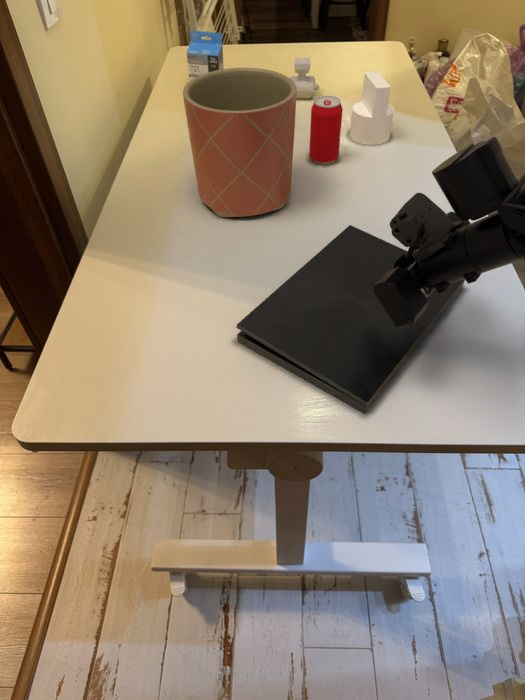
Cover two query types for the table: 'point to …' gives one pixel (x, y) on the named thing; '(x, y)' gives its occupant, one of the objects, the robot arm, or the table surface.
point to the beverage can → (325, 129)
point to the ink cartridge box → (204, 53)
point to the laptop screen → (342, 316)
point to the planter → (242, 139)
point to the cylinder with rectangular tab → (372, 112)
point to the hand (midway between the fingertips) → (379, 285)
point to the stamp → (304, 78)
